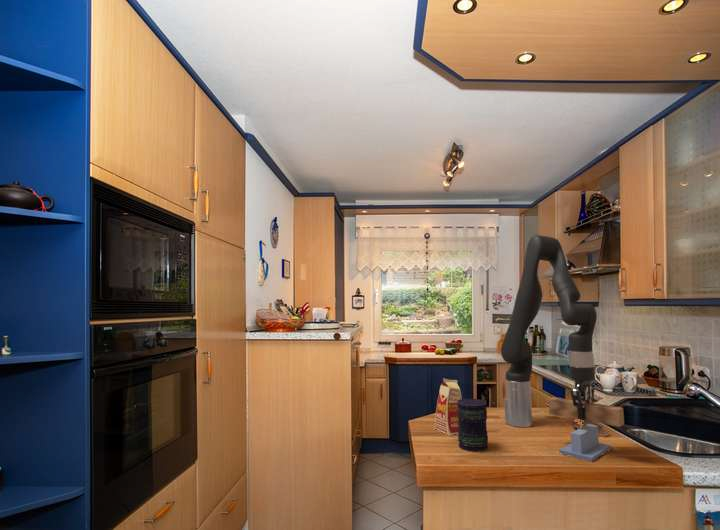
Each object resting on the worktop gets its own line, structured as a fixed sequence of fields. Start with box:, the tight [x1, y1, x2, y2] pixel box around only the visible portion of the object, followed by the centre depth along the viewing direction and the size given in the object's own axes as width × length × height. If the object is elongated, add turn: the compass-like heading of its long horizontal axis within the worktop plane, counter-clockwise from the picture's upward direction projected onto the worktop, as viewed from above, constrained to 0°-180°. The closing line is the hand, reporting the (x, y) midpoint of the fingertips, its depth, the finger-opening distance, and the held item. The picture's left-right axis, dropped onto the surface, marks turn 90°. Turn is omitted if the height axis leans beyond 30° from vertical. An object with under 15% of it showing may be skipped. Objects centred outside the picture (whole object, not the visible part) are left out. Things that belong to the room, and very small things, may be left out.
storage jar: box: [457, 398, 489, 453], centre depth 152 cm, size 10×10×15 cm
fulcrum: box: [558, 424, 612, 463], centre depth 145 cm, size 10×16×7 cm, turn 132°
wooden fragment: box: [573, 420, 612, 438], centre depth 170 cm, size 26×11×1 cm, turn 169°
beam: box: [547, 396, 625, 428], centre depth 146 cm, size 22×4×5 cm, turn 42°
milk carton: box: [434, 377, 463, 436], centre depth 170 cm, size 9×9×20 cm
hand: (584, 417), depth 146 cm, fingers closed on beam, 4 cm apart
